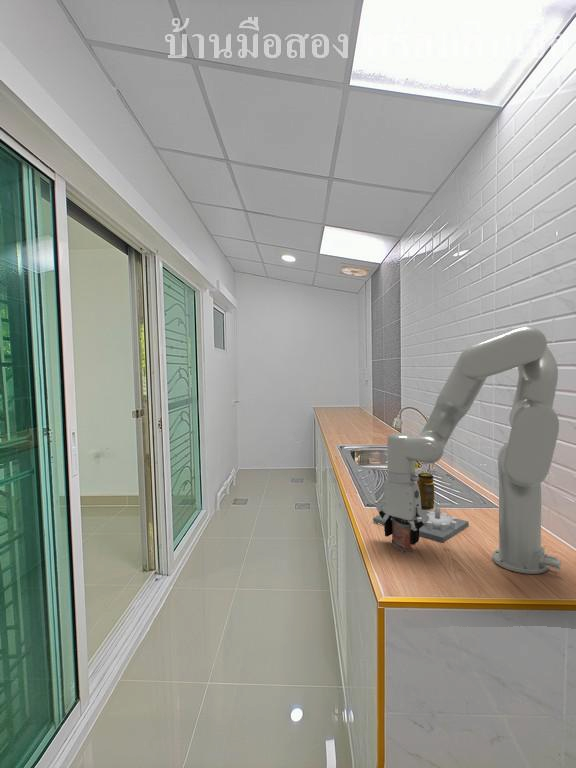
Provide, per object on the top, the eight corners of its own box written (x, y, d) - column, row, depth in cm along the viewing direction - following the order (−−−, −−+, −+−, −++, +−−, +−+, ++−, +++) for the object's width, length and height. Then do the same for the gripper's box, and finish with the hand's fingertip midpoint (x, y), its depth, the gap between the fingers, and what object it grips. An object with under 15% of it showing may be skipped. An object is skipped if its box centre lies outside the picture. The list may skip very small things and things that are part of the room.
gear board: (468, 526, 135) (468, 506, 134) (443, 542, 122) (442, 520, 122) (401, 509, 152) (401, 491, 152) (373, 522, 139) (372, 502, 139)
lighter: (414, 552, 116) (414, 516, 116) (403, 553, 115) (403, 517, 115) (399, 541, 124) (398, 507, 123) (388, 542, 123) (388, 508, 122)
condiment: (433, 504, 157) (433, 472, 157) (437, 511, 149) (437, 478, 149) (413, 503, 159) (413, 471, 158) (416, 510, 150) (416, 477, 150)
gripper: (436, 480, 115) (436, 543, 116) (381, 470, 128) (382, 527, 128) (423, 485, 110) (423, 552, 110) (367, 474, 122) (368, 534, 123)
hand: (401, 538), depth 119 cm, fingers closed on lighter, 7 cm apart
